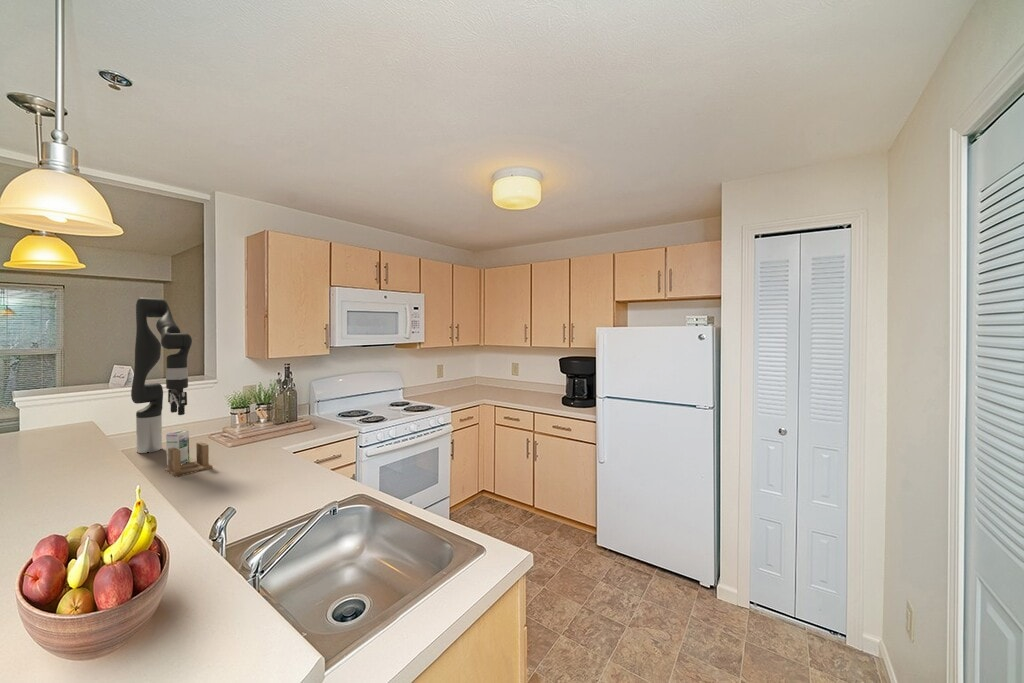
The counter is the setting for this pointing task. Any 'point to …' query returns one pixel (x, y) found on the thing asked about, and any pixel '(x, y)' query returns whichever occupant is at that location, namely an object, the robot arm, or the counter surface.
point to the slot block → (178, 469)
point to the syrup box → (179, 444)
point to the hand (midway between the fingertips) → (177, 413)
